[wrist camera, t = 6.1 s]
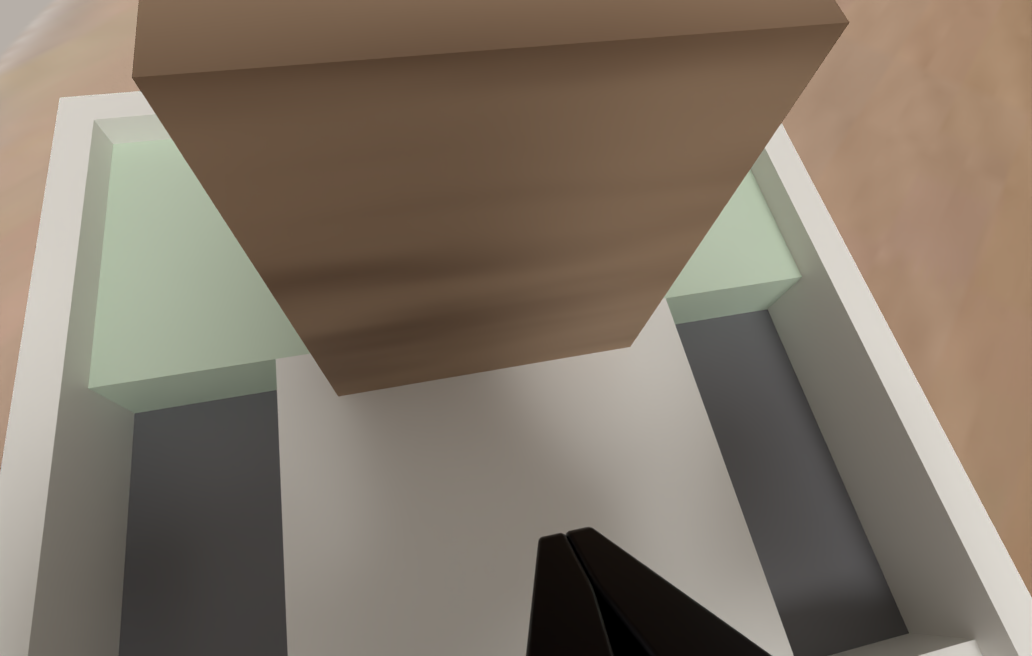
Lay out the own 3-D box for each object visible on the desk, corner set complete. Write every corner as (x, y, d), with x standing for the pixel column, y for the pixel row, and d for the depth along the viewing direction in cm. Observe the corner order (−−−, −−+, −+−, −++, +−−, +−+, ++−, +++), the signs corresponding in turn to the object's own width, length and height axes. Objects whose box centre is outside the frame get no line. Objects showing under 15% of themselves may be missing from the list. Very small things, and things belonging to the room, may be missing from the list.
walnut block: (630, 346, 16) (849, 22, 7) (338, 396, 15) (131, 77, 6) (561, 131, 19) (648, -283, 10) (317, 157, 18) (165, -293, 9)
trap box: (990, 752, 15) (1136, 796, 11) (45, 1060, 11) (-123, 1248, 8) (702, 117, 23) (739, 43, 20) (124, 176, 20) (60, 97, 17)
